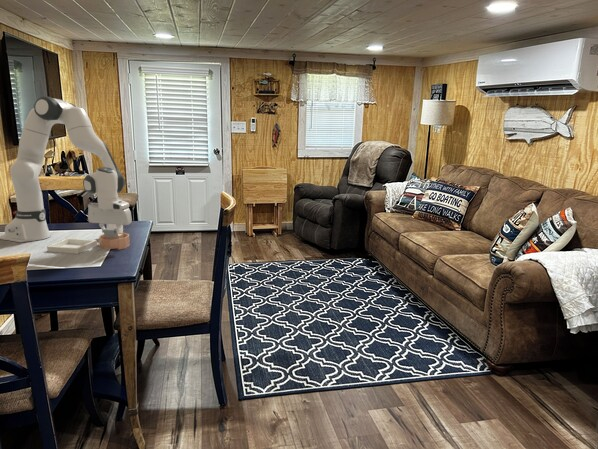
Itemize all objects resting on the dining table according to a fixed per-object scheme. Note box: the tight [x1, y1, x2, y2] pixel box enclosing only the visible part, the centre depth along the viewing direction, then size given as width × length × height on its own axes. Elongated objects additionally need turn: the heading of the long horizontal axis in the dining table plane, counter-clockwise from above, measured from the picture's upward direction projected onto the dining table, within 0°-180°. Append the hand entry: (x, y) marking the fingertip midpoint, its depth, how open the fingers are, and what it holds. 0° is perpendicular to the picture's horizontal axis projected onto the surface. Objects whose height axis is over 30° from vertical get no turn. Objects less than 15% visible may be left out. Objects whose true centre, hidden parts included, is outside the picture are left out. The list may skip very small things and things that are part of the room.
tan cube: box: [114, 234, 124, 239], centre depth 214 cm, size 4×4×4 cm
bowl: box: [98, 232, 131, 251], centre depth 212 cm, size 13×13×5 cm
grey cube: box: [103, 227, 118, 239], centre depth 208 cm, size 4×4×4 cm
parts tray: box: [46, 237, 98, 255], centre depth 205 cm, size 15×14×3 cm
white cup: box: [105, 224, 124, 233], centre depth 225 cm, size 8×8×10 cm
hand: (110, 232), depth 208 cm, fingers open, 5 cm apart
